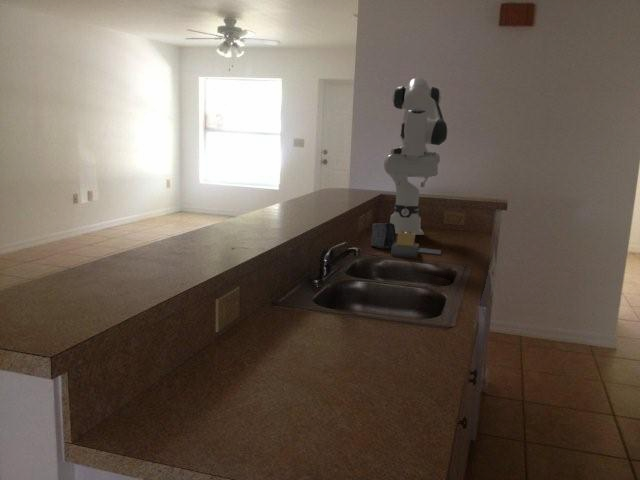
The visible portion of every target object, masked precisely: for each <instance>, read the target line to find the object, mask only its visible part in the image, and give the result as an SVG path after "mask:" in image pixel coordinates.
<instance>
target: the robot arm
mask: <svg viewBox="0 0 640 480" xmlns="http://www.w3.org/2000/svg"><path fill="white" fill-rule="evenodd" d="M441 98H442V96H441V92H440V90H439V88H437V87H435V86H429V84H428V82H427V81H426V80H425V78H422V77H414V78H412V79H410V80H409V82H408V83H407V85H406V86H405V85H400V86H397V87H395V89H394V91H393V93H392V96H391V99H392V104H393V107H395V108H396V109H399V110H404V112H403V117H402V123H401V130H400V131H401V132H400V140H401V143H402V146H397V147H394V148H391V150H390V154H388V155H387V156H386V157H385V159H384V162H383V168H384V171H385V173H387V175H389V177H391V180H393V182H394V185H395V189H396V190H395V191H396V192H395V193H396V196H395V197H396V198H395V203H394V208H393V209H394V212H393V213H392V214H391V215H390V220H389V223H392V224H394V226H395V235H398V232H399V231H408V232H415V236H422V235H423V236H424V235H425V234H424V231H423V230H422V229H421V228H422V224H421V220H422V218H421V216H420V215H419V212H420V211H419V210H420V208H419V207H420V206H419V200H420V189H419V188H418V187H417V186H416V185H415V184H413V183H411V182H410V181H409V179H408V178H420V179H424V180H423V181H421V182H420V188H425V185H426V182H427V181H428V179H429V178H432V177H436V176H437V175H438V173H439V168H438V167H439V166H438V165H439V163H440V160H441V157H440V154H439V153H437V152H434V151H433V152H431V151H428V150H429V149H428V148H427V146H426V144H428V145H436V146H440V145H441V144H443V143H445V141H446V140H447V136H448V130H449V129H448V125H447V123H446V122H445V119H444V116H443V113H442V110H441V107H440V104H441V101H442V99H441ZM428 118H429V119H428Z"/></svg>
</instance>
